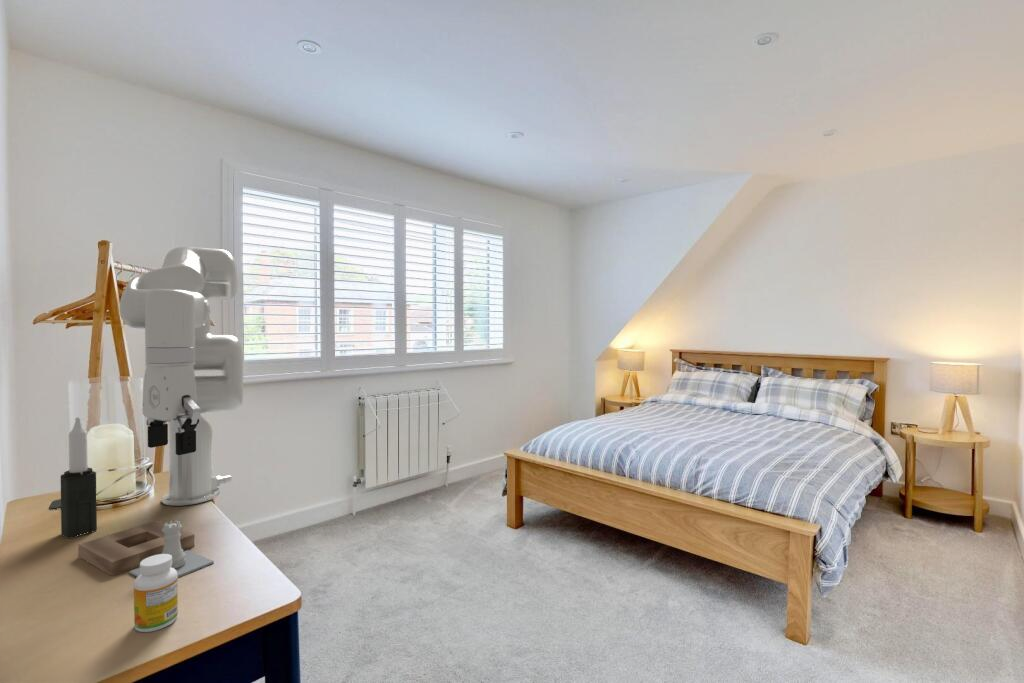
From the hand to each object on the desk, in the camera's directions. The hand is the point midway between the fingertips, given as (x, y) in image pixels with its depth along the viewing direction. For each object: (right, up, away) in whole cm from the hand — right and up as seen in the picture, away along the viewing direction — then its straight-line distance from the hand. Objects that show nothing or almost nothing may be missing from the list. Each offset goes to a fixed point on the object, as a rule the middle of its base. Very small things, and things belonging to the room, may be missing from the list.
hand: (171, 449), depth 92 cm
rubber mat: (0, -22, +1) cm, 22 cm away
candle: (-31, -22, +16) cm, 41 cm away
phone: (-45, -21, +35) cm, 61 cm away
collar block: (-12, -22, +7) cm, 26 cm away
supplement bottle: (+9, -23, -16) cm, 29 cm away
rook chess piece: (0, -22, +1) cm, 22 cm away
